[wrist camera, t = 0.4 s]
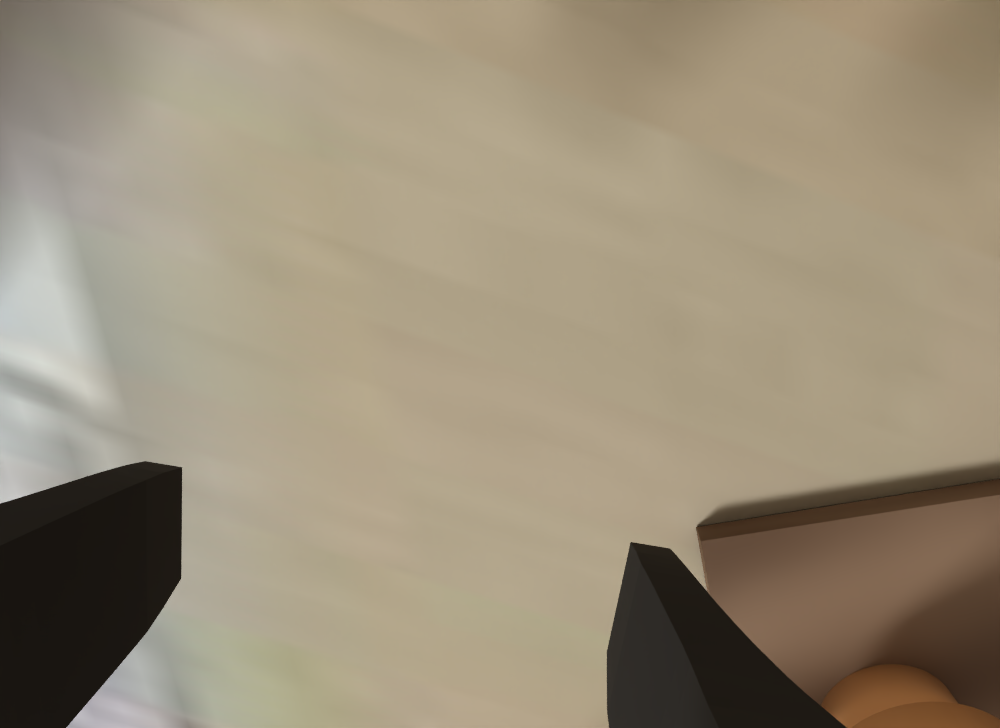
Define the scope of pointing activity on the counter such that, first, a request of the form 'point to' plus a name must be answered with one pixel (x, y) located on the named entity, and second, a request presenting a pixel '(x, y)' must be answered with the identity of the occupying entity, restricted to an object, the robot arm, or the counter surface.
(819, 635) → the brown board
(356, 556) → the counter surface
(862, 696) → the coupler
